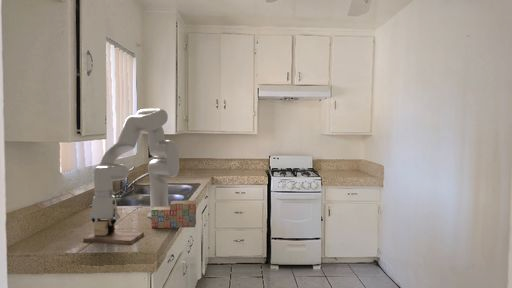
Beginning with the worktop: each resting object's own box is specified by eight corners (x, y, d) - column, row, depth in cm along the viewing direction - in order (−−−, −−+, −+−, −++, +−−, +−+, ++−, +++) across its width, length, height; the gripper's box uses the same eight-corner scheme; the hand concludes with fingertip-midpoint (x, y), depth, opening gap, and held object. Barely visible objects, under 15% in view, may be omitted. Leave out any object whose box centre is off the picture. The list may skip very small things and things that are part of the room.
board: (99, 233, 163) (99, 229, 162) (143, 235, 159) (143, 232, 159) (83, 241, 151) (83, 238, 151) (130, 244, 148) (130, 240, 147)
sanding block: (105, 230, 161) (104, 218, 161) (115, 230, 160) (114, 218, 160) (94, 236, 153) (93, 222, 153) (104, 236, 152) (104, 222, 152)
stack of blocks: (151, 228, 170) (150, 203, 170) (154, 224, 177) (153, 200, 176) (195, 227, 172) (194, 203, 171) (196, 223, 178) (196, 200, 177)
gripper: (125, 192, 158) (126, 231, 159) (91, 191, 160) (92, 229, 162) (117, 195, 151) (118, 236, 152) (80, 194, 153) (82, 235, 154)
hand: (104, 232), depth 157 cm, fingers closed on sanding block, 5 cm apart
